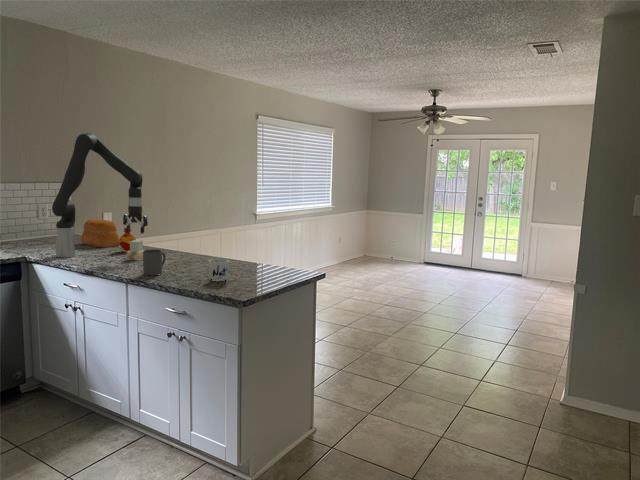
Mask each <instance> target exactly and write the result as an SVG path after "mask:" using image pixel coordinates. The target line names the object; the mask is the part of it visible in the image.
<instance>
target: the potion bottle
mask: <svg viewBox="0 0 640 480" xmlns="http://www.w3.org/2000/svg"><path fill="white" fill-rule="evenodd" d="M123 229H124V230H123V232H124V233H123V235H121V236H119V243H120V244H119V246H120V247H121V248H122V249H123V252H124V253H127V251H130V241H133V240H137V238H136V237H135V235H132V234H131V232H132V230H131V227H130V232H127V229H126V227H124V228H123Z"/></svg>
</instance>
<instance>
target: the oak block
mask: <svg viewBox="0 0 640 480" xmlns="http://www.w3.org/2000/svg"><path fill="white" fill-rule="evenodd" d="M143 251H145V249H143ZM143 251H140V252H130V251H127V252H126V260H127V261H128V260H129V261H137V262H138V261H143Z"/></svg>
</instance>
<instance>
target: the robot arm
mask: <svg viewBox="0 0 640 480" xmlns="http://www.w3.org/2000/svg"><path fill="white" fill-rule="evenodd" d="M72 151H73V153H72V156H71V158H70V160H69V163H68V165H67V168H66V171H65V174H64V177H63V181H62V183H61V184H60V188H59V191H58V193H57V195H56V197H55V199H54V201H53V203H52V206H51V210H52V214H53V215H54V216H56V217H61V218H60V220H59V221H57V222H56V223H55V225H56V226H55V227H56V228H55V229H56V231H55V232H56V240H55V242H54V243H55V257H56V258H57V257H58V258H66V259H67V258H73V257H76V244H75V243H76V241H75V240H76V239H75V223H76V205H75V203H74V201H72V200H71V198H70V197H72V195H73V194H74V193H75V191H76V190H77V189H78V188H79V187H80V186H81V184H82V182H83V180H84V176H85V173H86V160H87V157H88V154H89V152H90V151H93V152H94V153H96V154H98V155H99V156H100V157H101V158H102V159H103V160H104V161H105V163H107V165H109V166H110V167H111V168H112V169H113V170H115V171H116V172H118V173H119V174H121V175H122V177H123V178H125V180H126V181H128V182H129V187H128V200H127V207H128V214H127V213H126V214H125V213H124V214H123V219H122V220H123V221H122V222H123V223H122V224H123V225H124V226H126V227H125V228H126V229H127V232H130V230H131V229H130V228H131V225H132V224H133V223H134V224H135V223H136V224H138V225H139V226H140V234H144V233H145V227H147V226H149V223H148V216H147V215H143V199H142V197H143V195H142V187H143V173H142V172H141V171H140V170H135V169H133V168H132V167H131V166H130V165H129V163H128V162H126V161H125V160H124V159H122V158H120V156H118V155H116V154H115V153H114V152H113V151H112V150H110V149H109V148H108V147H107V146H106V145H105V144H104V143H103V142H102V141H101V140H100V139H99V138H98V137H97V136H96V135H94V134H93V133H91V132H87V133H86V132H85V133H81V134H79V135H77V137H76V139H75V143H74V147H73V150H72ZM130 233H131V232H130Z"/></svg>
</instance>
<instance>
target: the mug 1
mask: <svg viewBox="0 0 640 480" xmlns="http://www.w3.org/2000/svg"><path fill="white" fill-rule="evenodd" d="M144 250H145V249H144ZM165 262H166V254H165V252H164V251H163V252H162V250H161V249H146V250H145V251H143V260H142V269H143V275H144V276H146V275H157V276H159V275H158V274H161V273H162V274H163V266H164V265H165ZM162 274H161V275H162Z"/></svg>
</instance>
